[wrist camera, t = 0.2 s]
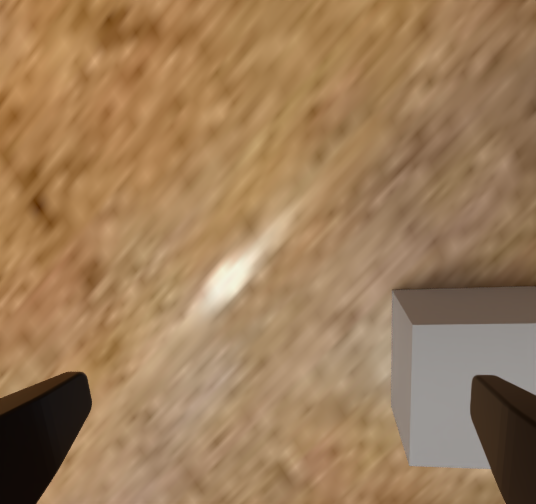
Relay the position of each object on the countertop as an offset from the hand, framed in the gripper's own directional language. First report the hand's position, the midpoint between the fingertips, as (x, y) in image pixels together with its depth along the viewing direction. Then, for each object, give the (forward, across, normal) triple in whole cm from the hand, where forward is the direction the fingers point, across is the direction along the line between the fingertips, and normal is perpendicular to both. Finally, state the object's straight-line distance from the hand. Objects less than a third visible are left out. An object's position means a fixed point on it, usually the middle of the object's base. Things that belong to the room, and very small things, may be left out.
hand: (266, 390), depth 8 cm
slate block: (+14, -10, +7) cm, 19 cm away
